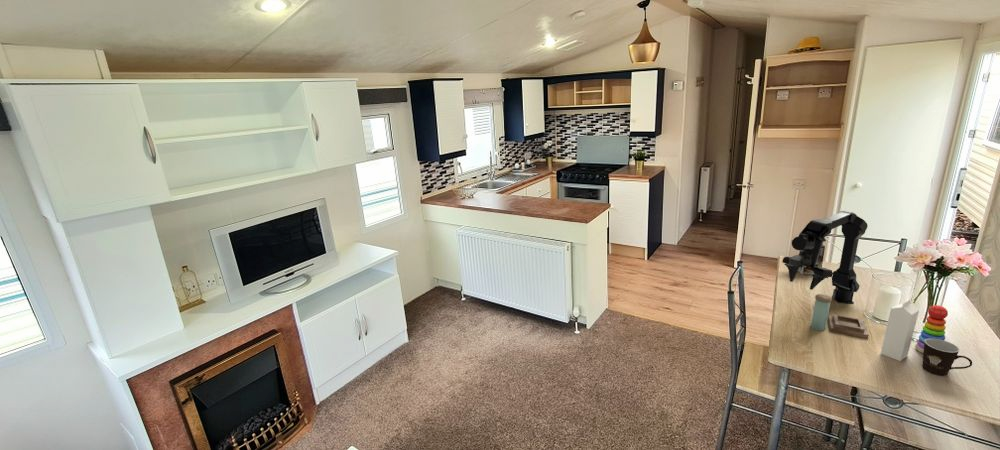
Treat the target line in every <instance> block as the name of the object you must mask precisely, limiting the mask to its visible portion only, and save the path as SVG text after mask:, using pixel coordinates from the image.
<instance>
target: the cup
mask: <svg viewBox="0 0 1000 450" xmlns="http://www.w3.org/2000/svg"><path fill="white" fill-rule="evenodd" d="M814 299H815V301H814V307H813V310H812V311H813V312H812V317H811V323H810V328H811V329H813V330H816V331H820V332H823V331H825V330H826V328H827V322H828V317H829V313H830V307H831V303H832V300H833V297H832V296H829V295H827V294H821V293H818V294H815V296H814Z"/></svg>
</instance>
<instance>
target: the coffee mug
mask: <svg viewBox="0 0 1000 450" xmlns="http://www.w3.org/2000/svg"><path fill="white" fill-rule="evenodd" d="M959 352H960V347H958V346H957V345H955V344H954V343H953V342H952V343H951V342H949V341H947V340H945V341H944V340H940V339H933V338H929V339H925V340H924V352H923V353H922V363H921V365H922V366H921V367H922V369H923V370H924V371H926V372H928V373H929V374H932V375H935V376H941V377H943V376H947V375H948V374H949V371H951V370H963V369H968V368H971V367H972V366H973V361H972V360H971V359H970V358H969V357H967V356H965V355H958V354H959ZM959 358H961V359H966V360H967V361H969V365H965V366H953V364H954V362H955V360H959Z"/></svg>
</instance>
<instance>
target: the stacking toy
mask: <svg viewBox="0 0 1000 450" xmlns="http://www.w3.org/2000/svg"><path fill="white" fill-rule="evenodd" d="M927 312H928V315H929V316H927V317H926V321H925V322H924V325H923V326H922V330H921V332H920V334H919V336H918V339H917V341H916V343H915V345H914V347H915V349H916V351H917V352H920V353H922V354H923V352H924V340H925V339H929V338H933V339H940V340H944V341H946V331H945V330H946V323H947V321H946V318H947V317H948V315H949V314H948V313H949V312H948V309H946V307H944V306H943V305H938V304H937V305H936V304H935V305H931V306H930V307H929V308H928V309H927Z"/></svg>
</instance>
